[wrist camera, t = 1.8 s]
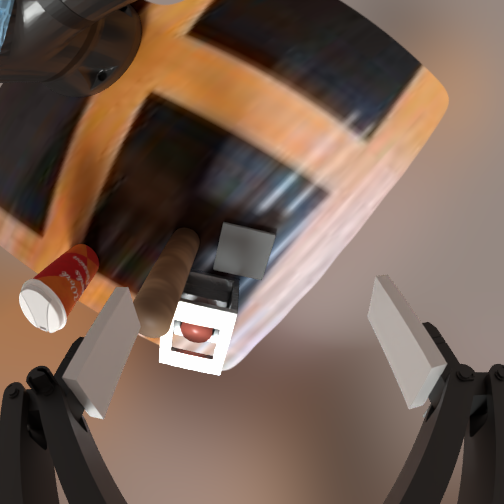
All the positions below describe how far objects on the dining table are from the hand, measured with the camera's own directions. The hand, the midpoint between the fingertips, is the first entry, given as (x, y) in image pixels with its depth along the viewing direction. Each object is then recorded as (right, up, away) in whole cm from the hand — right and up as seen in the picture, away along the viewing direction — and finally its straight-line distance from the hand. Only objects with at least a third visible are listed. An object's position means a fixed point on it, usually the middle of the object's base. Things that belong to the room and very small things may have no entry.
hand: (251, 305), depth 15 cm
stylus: (-9, +4, +24) cm, 26 cm away
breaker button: (-8, -7, +26) cm, 28 cm away
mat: (-1, +3, +25) cm, 25 cm away
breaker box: (-8, -5, +29) cm, 30 cm away
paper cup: (-26, +2, +26) cm, 37 cm away
